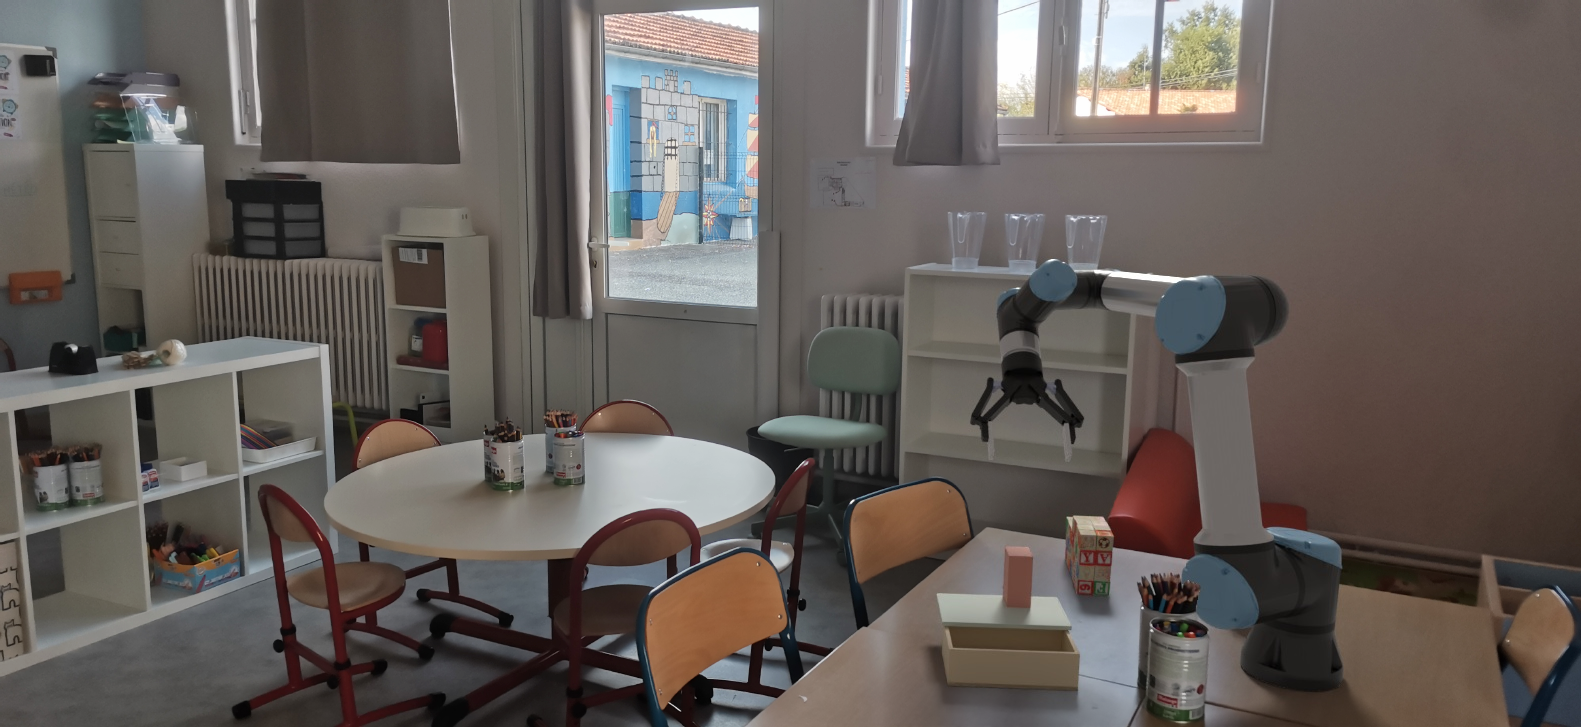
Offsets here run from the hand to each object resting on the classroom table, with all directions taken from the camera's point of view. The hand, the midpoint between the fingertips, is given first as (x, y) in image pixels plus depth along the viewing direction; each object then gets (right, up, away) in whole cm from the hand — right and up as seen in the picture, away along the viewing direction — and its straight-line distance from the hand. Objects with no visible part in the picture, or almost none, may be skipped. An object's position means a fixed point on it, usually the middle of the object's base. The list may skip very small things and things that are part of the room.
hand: (1030, 457), depth 193 cm
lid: (-7, -25, -10) cm, 28 cm away
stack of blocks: (+17, -27, +26) cm, 41 cm away
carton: (-8, -33, -18) cm, 38 cm away
